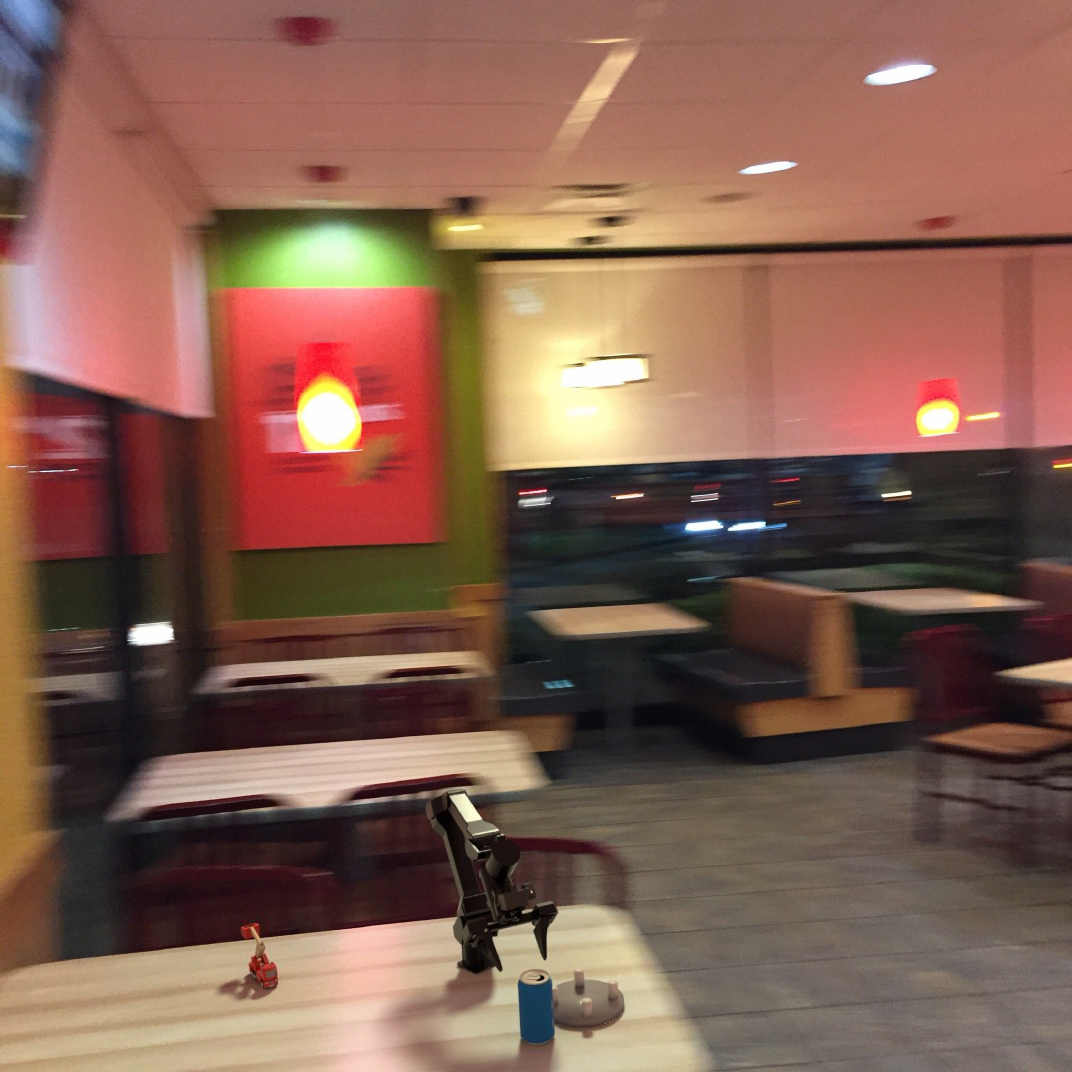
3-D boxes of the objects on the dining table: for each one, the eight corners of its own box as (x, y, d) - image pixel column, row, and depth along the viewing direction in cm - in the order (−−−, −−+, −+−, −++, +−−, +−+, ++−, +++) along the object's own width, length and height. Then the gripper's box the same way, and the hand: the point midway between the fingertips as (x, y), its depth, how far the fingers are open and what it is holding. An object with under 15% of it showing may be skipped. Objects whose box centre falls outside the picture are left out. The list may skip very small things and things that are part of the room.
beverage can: (551, 1048, 192) (548, 985, 191) (517, 1046, 193) (513, 984, 192) (557, 1029, 198) (554, 968, 197) (524, 1027, 199) (521, 966, 198)
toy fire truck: (264, 991, 218) (261, 946, 217) (243, 966, 229) (240, 924, 229) (280, 986, 220) (277, 942, 219) (258, 962, 231) (255, 920, 231)
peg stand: (526, 1010, 205) (525, 990, 205) (576, 977, 217) (575, 957, 217) (591, 1036, 195) (590, 1015, 194) (640, 1000, 207) (639, 980, 207)
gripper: (463, 880, 199) (487, 960, 190) (552, 861, 207) (579, 937, 197) (452, 905, 207) (474, 983, 198) (538, 885, 214) (563, 960, 205)
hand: (523, 965), depth 199 cm, fingers open, 9 cm apart
